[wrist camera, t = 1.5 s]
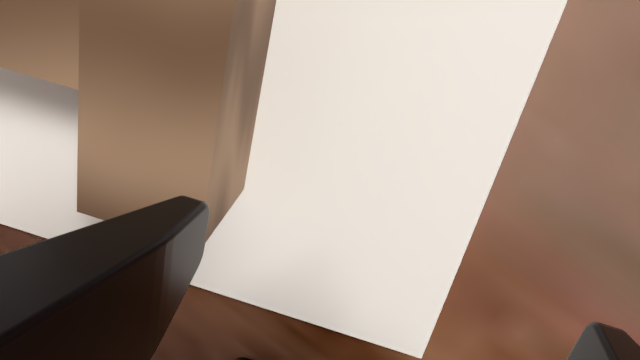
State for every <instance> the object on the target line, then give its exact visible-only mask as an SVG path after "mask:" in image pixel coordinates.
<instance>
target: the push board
mask: <svg viewBox="0 0 640 360" xmlns="http://www.w3.org/2000/svg"><path fill="white" fill-rule="evenodd" d="M566 3H567V0H276V5H275V11H274V17H273V23H272V29H271V35H270V40H269V46H268V52H267V58H266V64H265V69H264V75H263V81H262V87H261V93H260V98H259V104H258V110H257V116H256V122H255V127H254V133H253V139H252V145H251V151H250V156H249V162H248V168H247V174H246V180H245V185H244V190H243V191H242V193H241V194H240V195H239V197H238V198H237V200H236V201H235V202H234V204H233V205H232V207H231V208H230V209H229V211H228V212H227V214H226V215H225V216H224V218H223V219H222V221H221V222H220V223H219V225H218V226H217V227H216V229H215V230H214V232H213V233H212V234H211V236H210V237H209V239H208V240H207V241H206V243H205V247H204V253H203V256H202V259H201V262H200V265H199V267H198V269H197V271H196V273H195V275H194V277H193V279H192V281H191V282H190V285H193V286H196V287H199V288H203V289H206V290H209V291H212V292H215V293H218V294H221V295H224V296H228V297H231V298H234V299H237V300H240V301H243V302H246V303H249V304H252V305H256V306H259V307H262V308H265V309H268V310H271V311H274V312H277V313H280V314H284V315H287V316H290V317H293V318H296V319H299V320H302V321H305V322H309V323H312V324H315V325H318V326H321V327H324V328H327V329H330V330H333V331H337V332H340V333H343V334H346V335H349V336H352V337H355V338H358V339H361V340H365V341H368V342H371V343H374V344H377V345H380V346H383V347H386V348H390V349H393V350H396V351H399V352H402V353H405V354H408V355H411V356H414V357H418V358H422V356H423V353H424V351H425V348H426V346H427V343H428V341H429V339H430V336H431V334H432V331H433V329H434V326H435V324H436V321H437V319H438V316H439V314H440V312H441V309H442V307H443V304H444V302H445V299H446V297H447V294H448V292H449V289H450V287H451V285H452V282H453V280H454V277H455V275H456V272H457V270H458V267H459V265H460V263H461V260H462V258H463V255H464V253H465V250H466V248H467V245H468V243H469V240H470V238H471V236H472V233H473V231H474V228H475V226H476V223H477V221H478V218H479V216H480V213H481V211H482V209H483V206H484V204H485V201H486V199H487V196H488V194H489V191H490V189H491V187H492V184H493V182H494V179H495V177H496V174H497V172H498V169H499V167H500V164H501V162H502V160H503V157H504V155H505V152H506V150H507V147H508V145H509V142H510V140H511V137H512V135H513V133H514V130H515V128H516V125H517V123H518V120H519V118H520V115H521V113H522V111H523V108H524V106H525V103H526V101H527V98H528V96H529V93H530V91H531V88H532V86H533V84H534V81H535V79H536V76H537V74H538V71H539V69H540V66H541V64H542V61H543V59H544V57H545V54H546V52H547V49H548V47H549V44H550V42H551V39H552V37H553V35H554V32H555V30H556V27H557V25H558V22H559V20H560V17H561V15H562V12H563V10H564V8H565V5H566ZM77 155H78V90H76V89H73V88H70V87H66V86H63V85H59V84H56V83H53V82H49V81H46V80H42V79H39V78H36V77H32V76H29V75H25V74H22V73H19V72H15V71H12V70H9V69H5V68H2V67H0V224H3V225H6V226H9V227H13V228H16V229H19V230H22V231H25V232H28V233H31V234H34V235H37V236H41V237H44V238H47V239H50V238H53V237H56V236H59V235H62V234H65V233H68V232H71V231H74V230H77V229H80V228H83V227H86V226H89V225H92V224H95V223H98V222H101V221H104V220H102V219H98V218H95V217H92V216H89V215H86V214H83V213H79V212H77Z"/></svg>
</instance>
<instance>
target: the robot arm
mask: <svg viewBox="0 0 640 360" xmlns="http://www.w3.org/2000/svg"><path fill="white" fill-rule="evenodd" d="M208 219H209V206H208V204H207V203H206V202H204V201H200V200H197V199H194V198H191V197H187V196H183V195H181V196H177V197H174V198H171V199H168V200H165V201H162V202H159V203H156V204H153V205H150V206H147V207H144V208H141V209H138V210H135V211H132V212H128V213H125V214H122V215H119V216H116V217H113V218H110V219H107V220H104V221H101V222H98V223H95V224H92V225H89V226H86V227H83V228H80V229H77V230H74V231H71V232H68V233H65V234H62V235H59V236H56V237H53V238H50V239H47V240H44V241H41V242H38V243H34V244H31V245H28V246H25V247H22V248H19V249H16V250H13V251H10V252H7V253H4V254H1V255H0V360H150V358H151V357H152V355H153V354H154V352H155V350H156V349H157V347H158V345H159V343H160V341H161V339H162V337H163V335H164V333H165V332H166V330H167V328H168V326H169V324H170V322H171V320H172V318H173V316H174V314H175V312H176V310H177V308H178V306H179V304H180V302H181V300H182V298H183V296H184V294H185V292H186V290H187V288H188V286H189V284H190V282H191V281H192V279H193V277H194V275H195V273H196V271H197V269H198V267H199V265H200V262H201V259H202V256H203V253H204V247H205V240H206V233H207V226H208ZM238 360H251V359H248V358H239V359H238ZM567 360H640V346H639V345H638V344H637V343H636V342H635V341H634V340H633V339H632V338H631V337H630V336H629V335H628V334H627V333H626V332H625V331H623V330H621V329H619V328H615V327H612V326H609V325H605V324H602V323H599V322H592V323H589V324H588V325H587V326H586V327H585V329H584V330H583V332H582V334H581V336H580V337H579V339H578V341H577V342H576V344H575V346H574V348H573V349H572V351H571V353H570V355H569V356H568V358H567Z"/></svg>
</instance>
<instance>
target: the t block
mask: <svg viewBox="0 0 640 360" xmlns="http://www.w3.org/2000/svg"><path fill="white" fill-rule="evenodd" d="M275 5H276V0H0V67H2V68H5V69H9V70H12V71H15V72H19V73H22V74H25V75H29V76H32V77H36V78H39V79H42V80H46V81H49V82H53V83H56V84H59V85H63V86H66V87H70V88H73V89H76V90H78V155H77V212H79V213H83V214H86V215H89V216H92V217H95V218H98V219H102V220H107V219H110V218H113V217H116V216H119V215H122V214H125V213H128V212H132V211H135V210H138V209H141V208H144V207H147V206H150V205H153V204H156V203H159V202H162V201H165V200H168V199H171V198H174V197H177V196H181V195H183V196H187V197H191V198H194V199H197V200H200V201H204V202H206V203H207V204H208V206H209V219H208V226H207V233H206V240H205V243H206V241H207V240H208V239H209V237H210V236H211V234H212V233H213V232H214V230H215V229H216V227H217V226H218V225H219V223H220V222H221V221H222V219H223V218H224V216H225V215H226V214H227V212H228V211H229V209H230V208H231V207H232V205H233V204H234V202H235V201H236V200H237V198H238V197H239V195H240V194H241V193H242V191H243V190H244V185H245V180H246V174H247V168H248V162H249V156H250V151H251V145H252V139H253V133H254V127H255V122H256V116H257V110H258V104H259V98H260V93H261V87H262V81H263V75H264V69H265V64H266V58H267V52H268V46H269V40H270V35H271V29H272V23H273V17H274V11H275Z"/></svg>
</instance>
